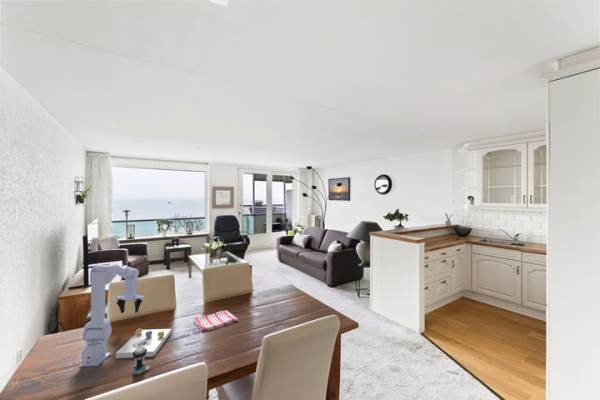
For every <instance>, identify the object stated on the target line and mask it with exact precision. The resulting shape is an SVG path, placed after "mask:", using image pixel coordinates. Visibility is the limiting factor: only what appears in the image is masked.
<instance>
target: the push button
mask: <svg viewBox="0 0 600 400" xmlns="http://www.w3.org/2000/svg"><path fill="white" fill-rule="evenodd" d="M146 352H147V349H146V348H144V347H140V348H137V349H136V350H135V351H134V352H133V358H134V365H133V367H132V375H133V376H134V375H140V374H142V373H145V372H146V371H147V370H149V369H150V365H147V363H146V362H145V357H144V356H145V355H146Z"/></svg>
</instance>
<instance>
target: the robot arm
mask: <svg viewBox="0 0 600 400" xmlns="http://www.w3.org/2000/svg"><path fill="white" fill-rule="evenodd" d="M117 275H118V277H121V278H122V279H124V295H120V296H119V295H118V296H116V297H115V301H116V304H117V306H118V308H119V311H120V314H123V313H125V311H126V308H125V304H126V301H134V313H135V314H137V313H138V312H139V309H140V306H141V305H142V302H143V300H145V295H139V294H137V281H138V279H139V278H138V277H139V275H140V271H139V269H137V267H136V268H135V267H134V268H133V267H132V266H129V265H127V264H124V265H122V266H120V265H119V264H117V263H114V264H94V265H93V266H92V268H91V269H90V270H89V284H90V296H91V297H90V321H89V322H87V323H86V324H85V325H84V326H83V332H82V335H81V336H82V337H81V338H82V339H83V341H85V342H84V343H85V344H86V345H85V347H84V349H82V351H81V359H80V360H81V362H80V364H79V365H78V367H97V366H99V365H100V364H101V363H103V361H105V360H106V359H107V358H108V357H109V356H110V355H111V352H107V340H108V338H110V336H111V334H112V330H113V329H112V325H111V320H109V319H108V318H107V317H106V286H107V285H108V284H110V283H112V281H114V279H115V278H116V277H117Z"/></svg>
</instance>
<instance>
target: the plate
mask: <svg viewBox="0 0 600 400" xmlns="http://www.w3.org/2000/svg"><path fill="white" fill-rule="evenodd" d="M147 331H152V335H151V336H150V337H146V335H145V334H146V332H147ZM160 331H163V332H164V336H163V337H161V338H159V337H158V336H157V335H158V333H159V332H160ZM171 334H172V328H161V329H159V328H158V329H157V328H155V329H142V333H141V334H139V335H137V334H136V333H135V334H134V335H132V336H131V338H129V340H127V342H126V343H125V344H124V345H123V346H121V347H120V349H118V350H117V352H116V353H115V358H116V359H126V358H127V359H128V358H129V359H130V358H131V359H132V358H134V357H133V352H134V351H135V350H136V349H137V348H140V347H144V348H146V349H147V352H146V355H145V356H144V358H147V357H148V358H149V357H153V358H154V357H155V356H156V354H157V353H158V351H159V350H160V348H161V347H162V346H163V344H165V342H166V341H167V339H168V338H169V337H170V336H171Z"/></svg>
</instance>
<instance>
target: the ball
mask: <svg viewBox="0 0 600 400" xmlns="http://www.w3.org/2000/svg"><path fill="white" fill-rule="evenodd" d="M145 335H146V337H150V336H151V335H152V331H147V332H146V334H145Z"/></svg>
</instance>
